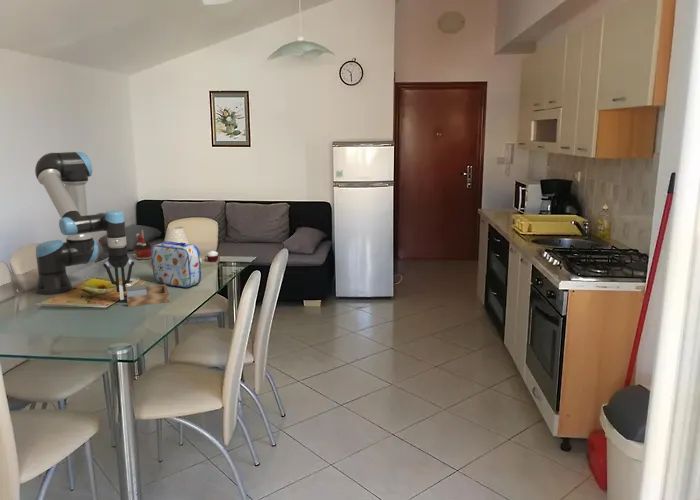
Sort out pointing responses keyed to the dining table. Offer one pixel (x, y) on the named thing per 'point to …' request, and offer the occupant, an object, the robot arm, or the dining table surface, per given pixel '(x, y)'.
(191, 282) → the lunch box
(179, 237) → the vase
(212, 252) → the cocoa
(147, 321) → the dining table surface
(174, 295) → the dining table surface
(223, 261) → the dining table surface
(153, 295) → the bay
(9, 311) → the dining table surface
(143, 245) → the cake
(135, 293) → the gray block
